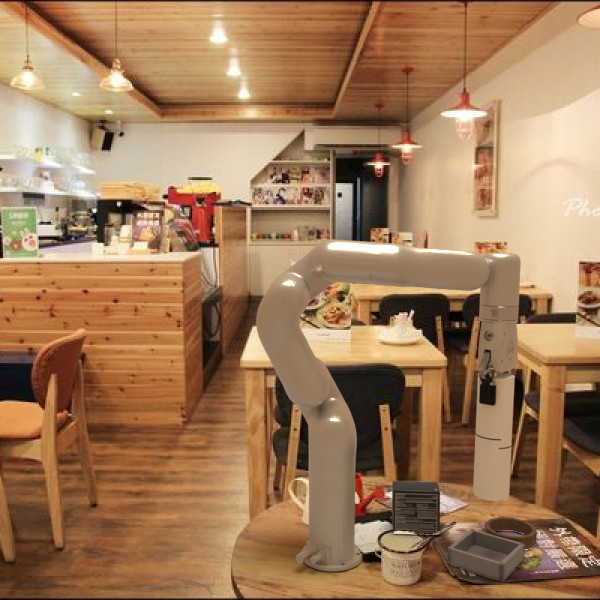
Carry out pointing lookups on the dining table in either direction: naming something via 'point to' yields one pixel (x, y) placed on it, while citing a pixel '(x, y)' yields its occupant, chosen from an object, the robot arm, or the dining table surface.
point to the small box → (416, 506)
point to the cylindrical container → (494, 442)
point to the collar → (514, 525)
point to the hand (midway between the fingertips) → (494, 400)
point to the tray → (486, 555)
